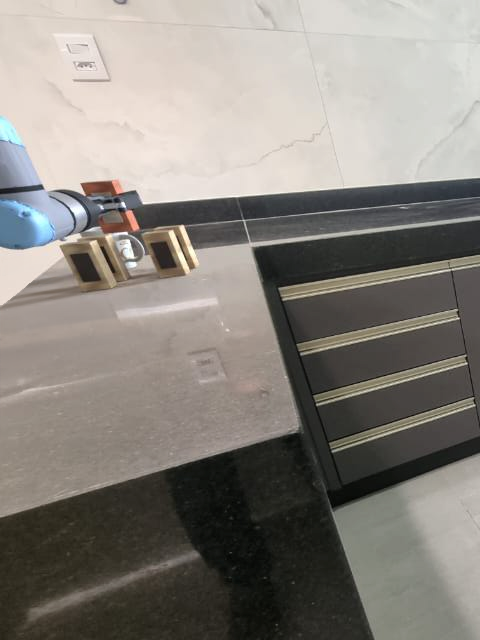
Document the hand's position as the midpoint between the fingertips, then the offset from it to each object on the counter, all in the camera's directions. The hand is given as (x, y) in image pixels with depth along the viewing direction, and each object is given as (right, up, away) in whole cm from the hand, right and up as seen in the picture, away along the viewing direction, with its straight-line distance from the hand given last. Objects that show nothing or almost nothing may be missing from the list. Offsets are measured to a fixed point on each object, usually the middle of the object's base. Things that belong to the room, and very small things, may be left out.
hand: (120, 198), depth 112 cm
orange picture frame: (+2, -8, -2) cm, 8 cm away
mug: (-17, -12, +20) cm, 28 cm away
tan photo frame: (-8, -18, +6) cm, 20 cm away
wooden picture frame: (+1, -13, +14) cm, 19 cm away
